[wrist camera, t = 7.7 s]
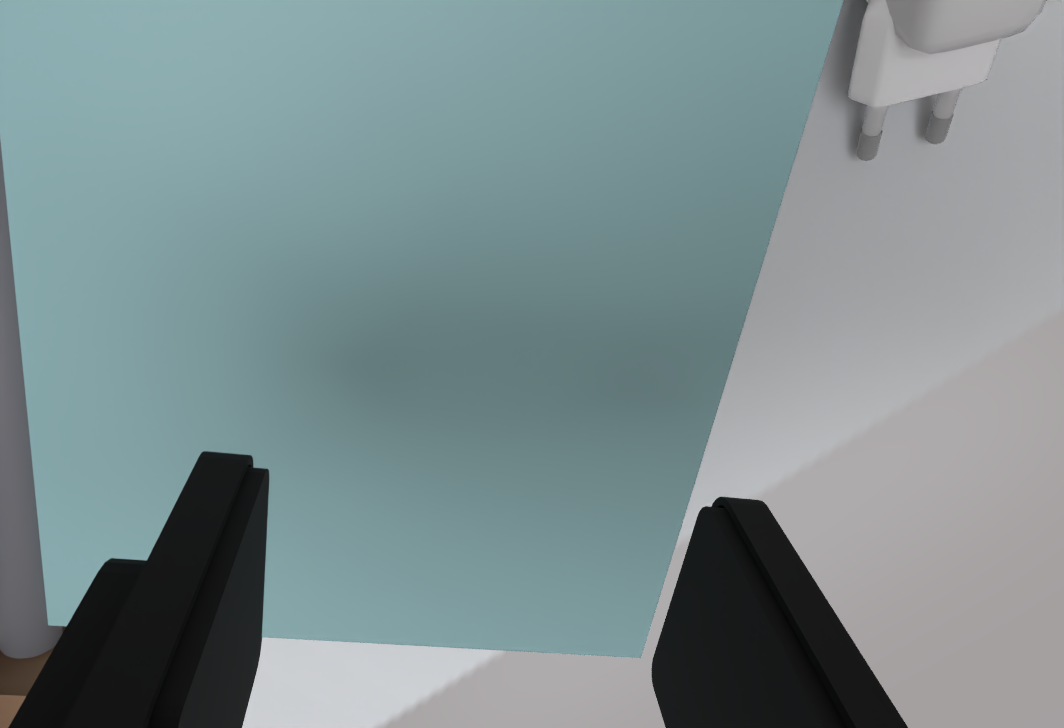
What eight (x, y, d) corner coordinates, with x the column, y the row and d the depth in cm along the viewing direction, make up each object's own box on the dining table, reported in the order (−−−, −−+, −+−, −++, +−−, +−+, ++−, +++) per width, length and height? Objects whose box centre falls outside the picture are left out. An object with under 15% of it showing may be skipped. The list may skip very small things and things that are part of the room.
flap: (825, -48, 14) (1055, -65, 9) (623, 640, 21) (686, 866, 16) (-362, -305, 11) (-1093, -565, 6) (-155, 594, 18) (-408, 855, 13)
